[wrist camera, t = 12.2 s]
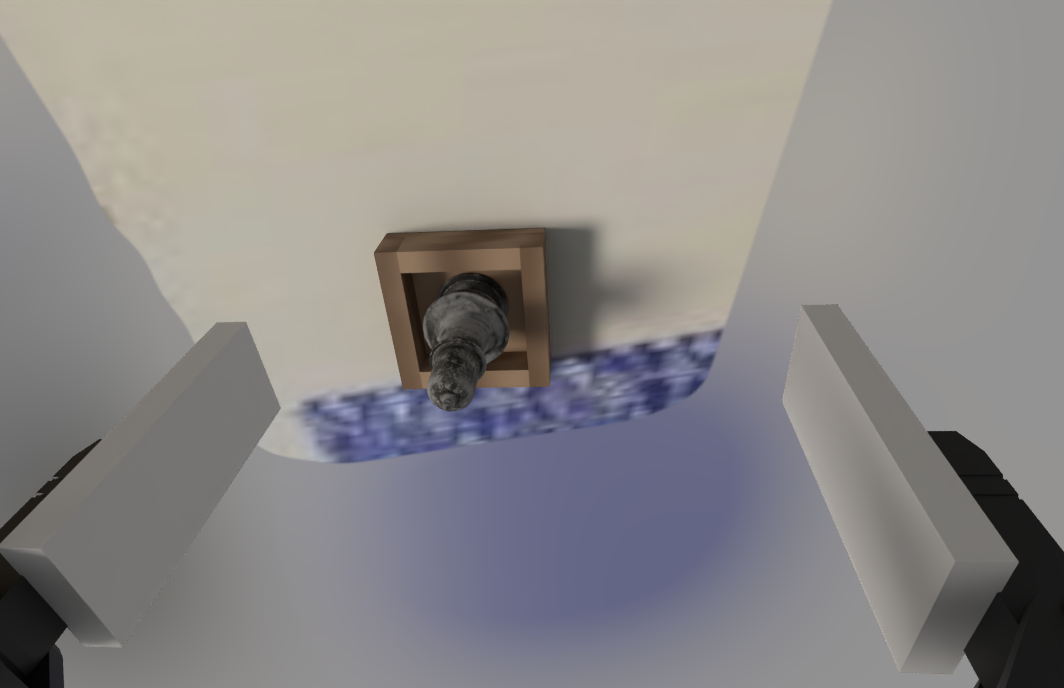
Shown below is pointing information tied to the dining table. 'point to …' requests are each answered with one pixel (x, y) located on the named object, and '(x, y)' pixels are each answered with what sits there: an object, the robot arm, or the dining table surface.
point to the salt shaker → (464, 337)
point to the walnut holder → (434, 257)
